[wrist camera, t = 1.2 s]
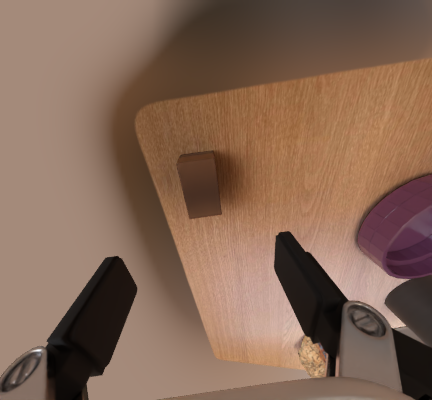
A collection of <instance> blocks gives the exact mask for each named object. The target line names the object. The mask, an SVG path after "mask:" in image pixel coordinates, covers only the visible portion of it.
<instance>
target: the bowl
mask: <svg viewBox="0 0 432 400" xmlns="http://www.w3.org/2000/svg"><path fill="white" fill-rule="evenodd" d="M358 245H359V248H360V250H361V251H362V252H363V253H364V254H365V255H366V256H367V257H368V258H369V259H371V260H372V261H373V262H374V263H375V264H377V265H378V266H379V267H380V268H381V269H382V270H383V271H385V272H386V273H387V274H388V275H390V276H393V277H395V278H402V279H413V278H421V277H425V276H428V275H432V174H430V175H427V176H424V177H421V178H418V179H415V180H413V181H411V182H409V183H407V184H405V185H403V186H401V187H399V188H398V189H396V190H395V191H393V192H392V193H391V194H389V195H388V196H387V197H385V198H384V199H383V200H382V201H381V202H380V203H379V204H378V205H377V206H376V207H374V208H373V209H372V211H371V212H370V213H369V215H368V216H367V217H366V219H365V220H364V222H363V223H362V226H361V228H360V231H359V233H358Z"/></svg>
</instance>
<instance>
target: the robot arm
mask: <svg viewBox="0 0 432 400" xmlns="http://www.w3.org/2000/svg"><path fill="white" fill-rule="evenodd" d="M274 269H275V272H276V274H277V276H278V279H279V281H280V283H281V285H282V287H283V289H284V291H285V294H286V296H287V298H288V300H289V302H290V304H291V306H292V308H293V311H294V313H295V315H296V317H297V319H298V321H299V323H300V325H301V328H302V330H303V332H304V334H305V335H306V336H307V337H310V339H311V341H312V343H313V344H316V343H320V344H321V346H322V348H323V349H324V351H325V352H326V353H327V354H326V364H325V373H324V377H319V378H310V379H301V380H292V381H284V382H276V383H270V384H262V385H255V386H248V387H241V388H234V389H227V390H220V391H213V392H207V393H200V394H193V395H186V396H180V397H173V398H166V399H159V400H432V348H431V347H429V346H427V345H425V344H423V343H421V342H419V341H417V340H415V339H413V338H411V337H409V336H407V335H405V334H403V333H401V332H399V331H397V330H395V329H393V328H391V326H390V324H389V323H388V321H387V320H386V318H385V317H384V316H383V315H382V314H381V313H380V312H378V311H377V310H376V309H374V308H373V307H371V306H369V305H367V304H365V303H363V302H360V301H348V299H347V298H346V297H345V296H344V294H343V293H342V292H341V291H340V289H339V288H338V287H337V286H336V284H335V283H334V282H333V281H332V279H331V278H330V277H329V276H328V274H327V273H326V272H325V271H324V269H323V268H322V267H321V266H320V264H319V263H318V262H317V261H316V259H315V258H314V257H313V256H312V255H311V254H310V253H309V252H305V251H304V249H303V248H302V247H301V245H300V244H299V243H298V241H297V240H296V239H295V238H294V236H293V235H292V234H291V232H289V231H287V232H280V233H279V234H278V235H277V236H276V243H275V261H274ZM136 293H137V286H136V284H135V282H134V280H133V278H132V276H131V275H130V273H129V271H128V269H127V267H126V265H125V264H124V262H123V260H122V259H121V258H119V257H118V256H114V257H107V258H105V260H104V261H103V262H102V264H101V265H100V266H99V268H98V269H97V271H96V272H95V274H94V275H93V276H92V278H91V279H90V281H89V282H88V283H87V285H86V286H85V288H84V289H83V290H82V292H81V293H80V295H79V296H78V297H77V299H76V300H75V302H74V303H73V304H72V306H71V307H70V309H69V310H68V311H67V313H66V314H65V316H64V317H63V318H62V320H61V321H60V323H59V324H58V326H57V327H56V328H55V330H54V331H53V333H52V334H51V336H50V337H49V338H48V340H47V342H48V345H47V346H46V347H43V346H38V347H35V348H32V349H31V350H29V351H27V352H25V353H24V354H23V355H21V356H20V357H19V358H18V359H16V360H15V361H14V362H13V363H12V364H11V365H10V366H9V367H8V368H7V369H6V371H5V372H4V373H3V374H2V375H1V377H0V400H88V392H87V385H86V383H87V381H88V379H89V377H92V376H99V375H102V374H103V372H104V369H105V367H106V366H107V365H108V364H109V362H110V360H111V358H112V355H113V352H114V350H115V347H116V345H117V342H118V340H119V337H120V334H121V332H122V329H123V327H124V324H125V322H126V319H127V316H128V314H129V311H130V309H131V306H132V304H133V301H134V298H135V295H136Z"/></svg>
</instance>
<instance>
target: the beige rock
mask: <svg viewBox="0 0 432 400" xmlns="http://www.w3.org/2000/svg"><path fill="white" fill-rule="evenodd" d="M298 354H299V358H300V361H301V363H302V365H303V366H304V368H305V369H306V371H307V374H308V375H310V377H311V378H319V377H324V373H325V364H326V359H325V357H324V355H323V353H322V351H321V349H320V347H319V345H318V343H316V344H313V343H312V341H311V339H310V337H307V336H306V335H305V337H304V339H303V342H302V344H301V349H300V350H299V353H298Z"/></svg>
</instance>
